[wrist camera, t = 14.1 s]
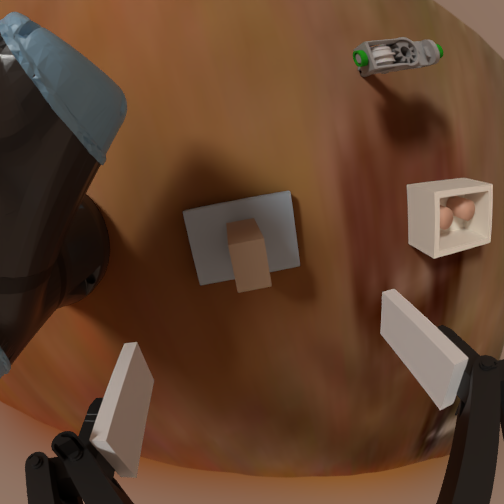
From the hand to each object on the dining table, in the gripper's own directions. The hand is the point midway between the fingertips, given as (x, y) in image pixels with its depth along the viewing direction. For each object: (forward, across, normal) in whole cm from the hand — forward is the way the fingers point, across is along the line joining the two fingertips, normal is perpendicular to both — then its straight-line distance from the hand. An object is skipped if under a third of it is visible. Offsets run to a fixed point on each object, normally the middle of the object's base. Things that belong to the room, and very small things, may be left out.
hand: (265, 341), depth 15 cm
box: (+21, +28, -2) cm, 35 cm away
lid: (+20, 0, 0) cm, 20 cm away
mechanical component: (+21, +18, +17) cm, 33 cm away
